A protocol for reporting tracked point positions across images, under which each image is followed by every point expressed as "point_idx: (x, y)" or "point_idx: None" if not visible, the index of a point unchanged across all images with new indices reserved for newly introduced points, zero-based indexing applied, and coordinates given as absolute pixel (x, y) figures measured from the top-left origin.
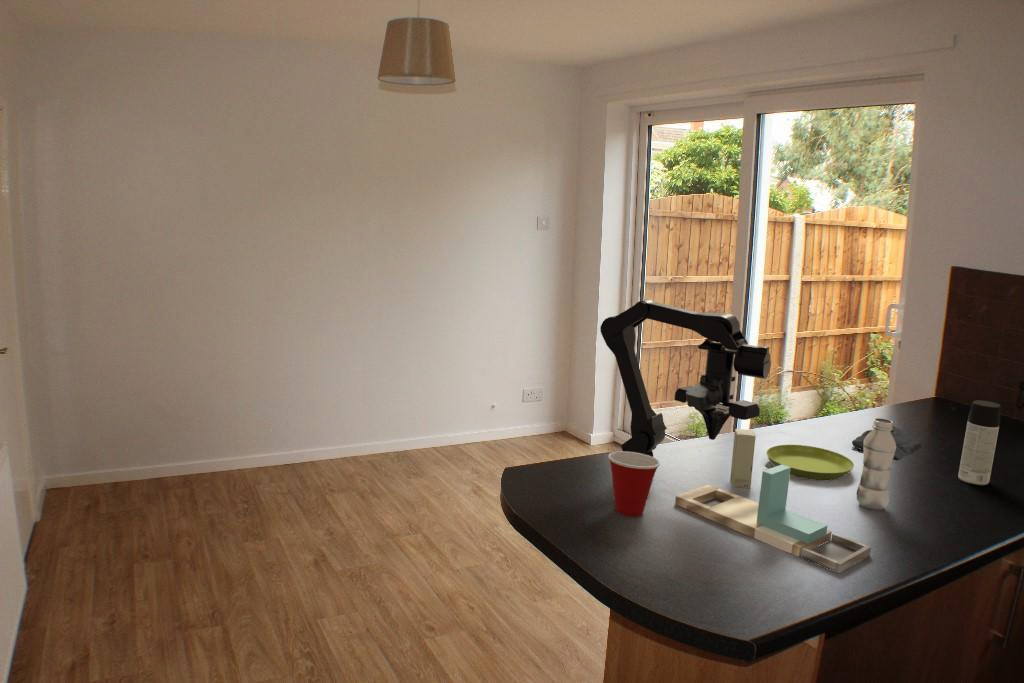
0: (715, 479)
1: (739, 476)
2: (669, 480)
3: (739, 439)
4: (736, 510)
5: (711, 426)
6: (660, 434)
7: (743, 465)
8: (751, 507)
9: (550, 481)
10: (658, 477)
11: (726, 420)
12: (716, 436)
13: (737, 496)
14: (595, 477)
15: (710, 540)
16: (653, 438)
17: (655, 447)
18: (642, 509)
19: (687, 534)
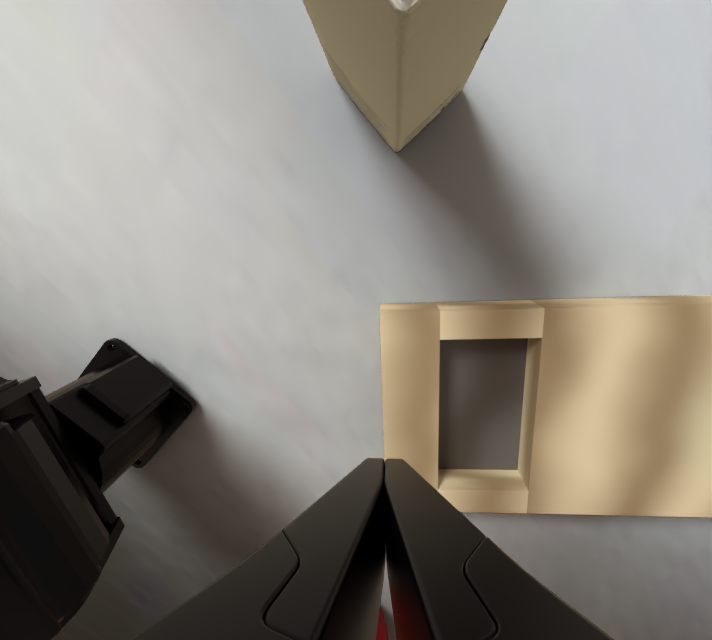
0: (292, 139)
1: (424, 117)
2: (212, 332)
3: (429, 22)
4: (614, 443)
5: (370, 630)
6: (14, 521)
7: (444, 79)
8: (645, 371)
9: (75, 628)
10: (170, 344)
11: (583, 623)
12: (413, 470)
13: (541, 321)
14: None
15: (617, 595)
16: (71, 607)
17: (33, 386)
18: (387, 635)
19: None
